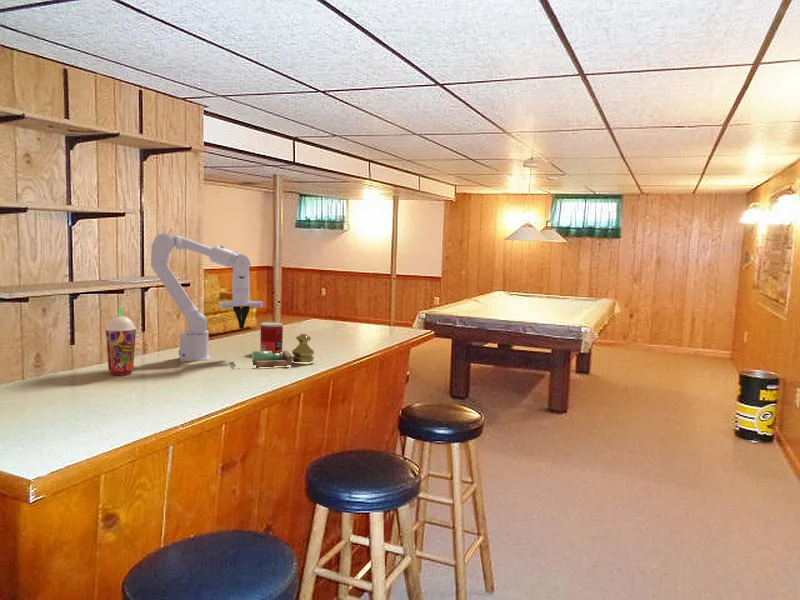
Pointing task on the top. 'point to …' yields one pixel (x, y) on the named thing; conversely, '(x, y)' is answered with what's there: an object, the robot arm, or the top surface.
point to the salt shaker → (303, 350)
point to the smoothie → (120, 345)
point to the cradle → (272, 361)
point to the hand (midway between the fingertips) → (241, 328)
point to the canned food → (271, 337)
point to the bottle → (265, 356)
